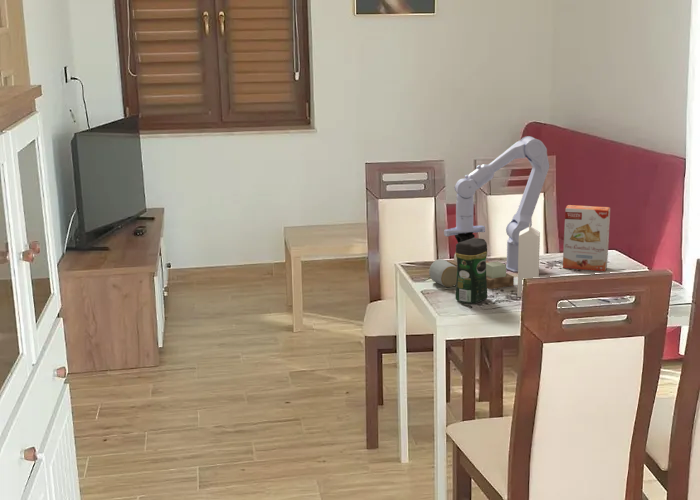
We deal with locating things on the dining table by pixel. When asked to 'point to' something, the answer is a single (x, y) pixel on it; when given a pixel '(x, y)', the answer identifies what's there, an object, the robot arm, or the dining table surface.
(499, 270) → the key sage
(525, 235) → the milk
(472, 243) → the coffee jar
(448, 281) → the ceramic mug
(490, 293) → the dining table surface
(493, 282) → the keypad frame
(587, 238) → the cracker box
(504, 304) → the dining table surface
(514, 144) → the robot arm
